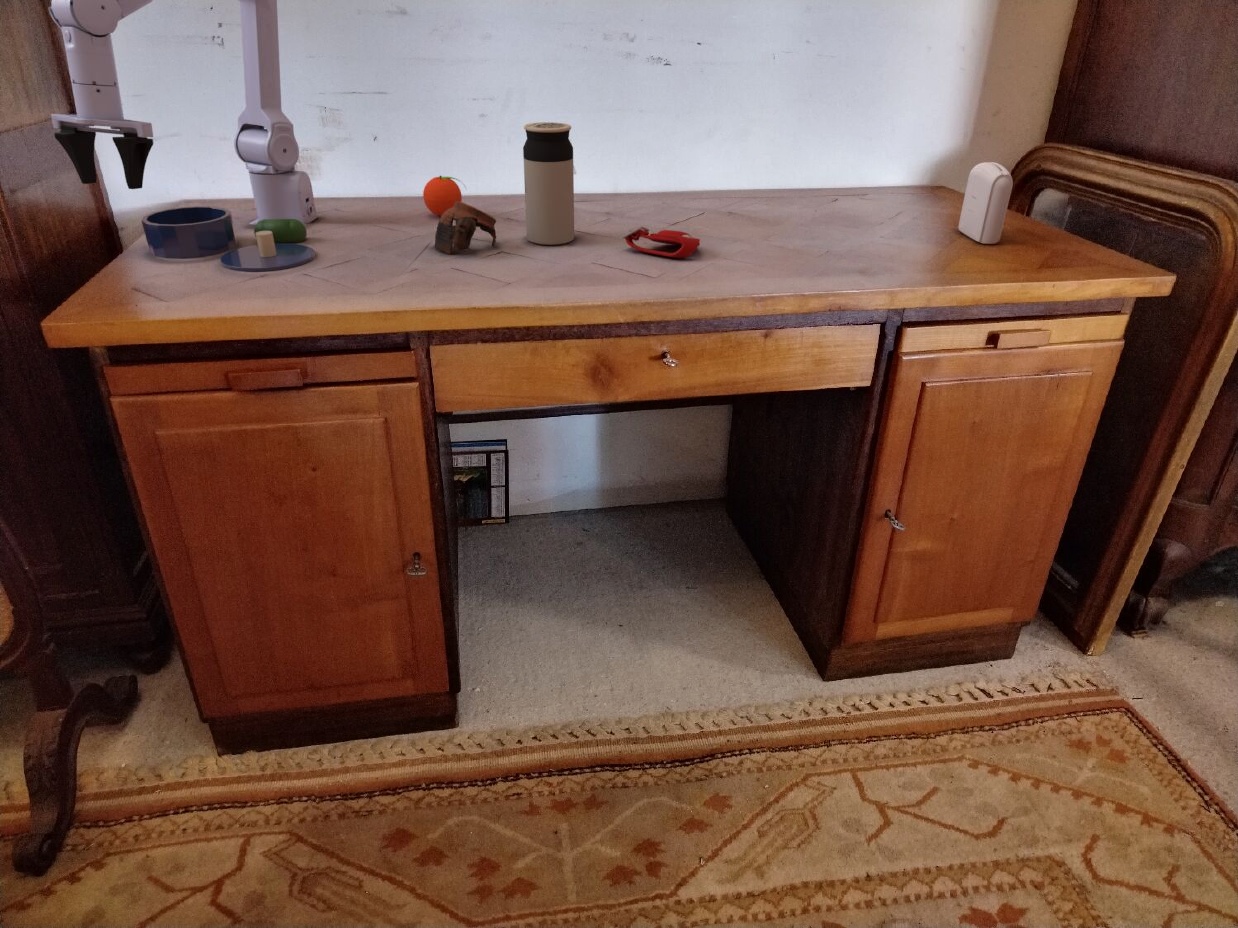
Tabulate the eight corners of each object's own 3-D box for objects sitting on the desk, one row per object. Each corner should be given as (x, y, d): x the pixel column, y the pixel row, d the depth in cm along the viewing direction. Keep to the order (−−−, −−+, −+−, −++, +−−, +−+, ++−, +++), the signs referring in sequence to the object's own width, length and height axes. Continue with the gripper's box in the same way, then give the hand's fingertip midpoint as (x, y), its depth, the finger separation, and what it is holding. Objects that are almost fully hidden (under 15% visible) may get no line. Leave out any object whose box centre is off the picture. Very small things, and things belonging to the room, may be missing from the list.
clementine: (464, 210, 157) (461, 170, 153) (472, 218, 151) (469, 178, 148) (422, 212, 154) (418, 173, 151) (428, 221, 149) (424, 180, 145)
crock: (250, 241, 136) (243, 207, 133) (215, 263, 125) (207, 226, 122) (176, 239, 136) (168, 205, 133) (135, 261, 125) (125, 224, 123)
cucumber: (310, 240, 137) (306, 216, 135) (306, 246, 133) (301, 221, 131) (259, 242, 136) (255, 217, 134) (254, 248, 132) (249, 222, 130)
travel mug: (582, 237, 141) (581, 124, 132) (560, 248, 135) (557, 130, 126) (541, 231, 144) (538, 120, 135) (518, 242, 138) (512, 127, 129)
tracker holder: (683, 234, 139) (715, 233, 130) (680, 261, 140) (711, 262, 131) (619, 223, 134) (648, 222, 125) (616, 251, 135) (644, 252, 126)
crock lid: (328, 251, 131) (323, 222, 129) (296, 276, 120) (290, 246, 118) (245, 249, 132) (239, 220, 130) (205, 274, 120) (198, 243, 118)
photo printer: (953, 229, 149) (969, 157, 143) (977, 230, 149) (993, 158, 143) (977, 245, 140) (994, 169, 134) (1002, 245, 140) (1020, 169, 134)
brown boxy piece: (429, 245, 137) (448, 198, 136) (482, 269, 140) (501, 223, 139) (428, 245, 126) (449, 193, 125) (486, 271, 129) (507, 221, 127)
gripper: (26, 79, 113) (46, 183, 119) (120, 88, 111) (137, 193, 117) (66, 81, 120) (84, 179, 125) (156, 89, 118) (170, 189, 123)
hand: (112, 186), depth 122 cm, fingers open, 7 cm apart
